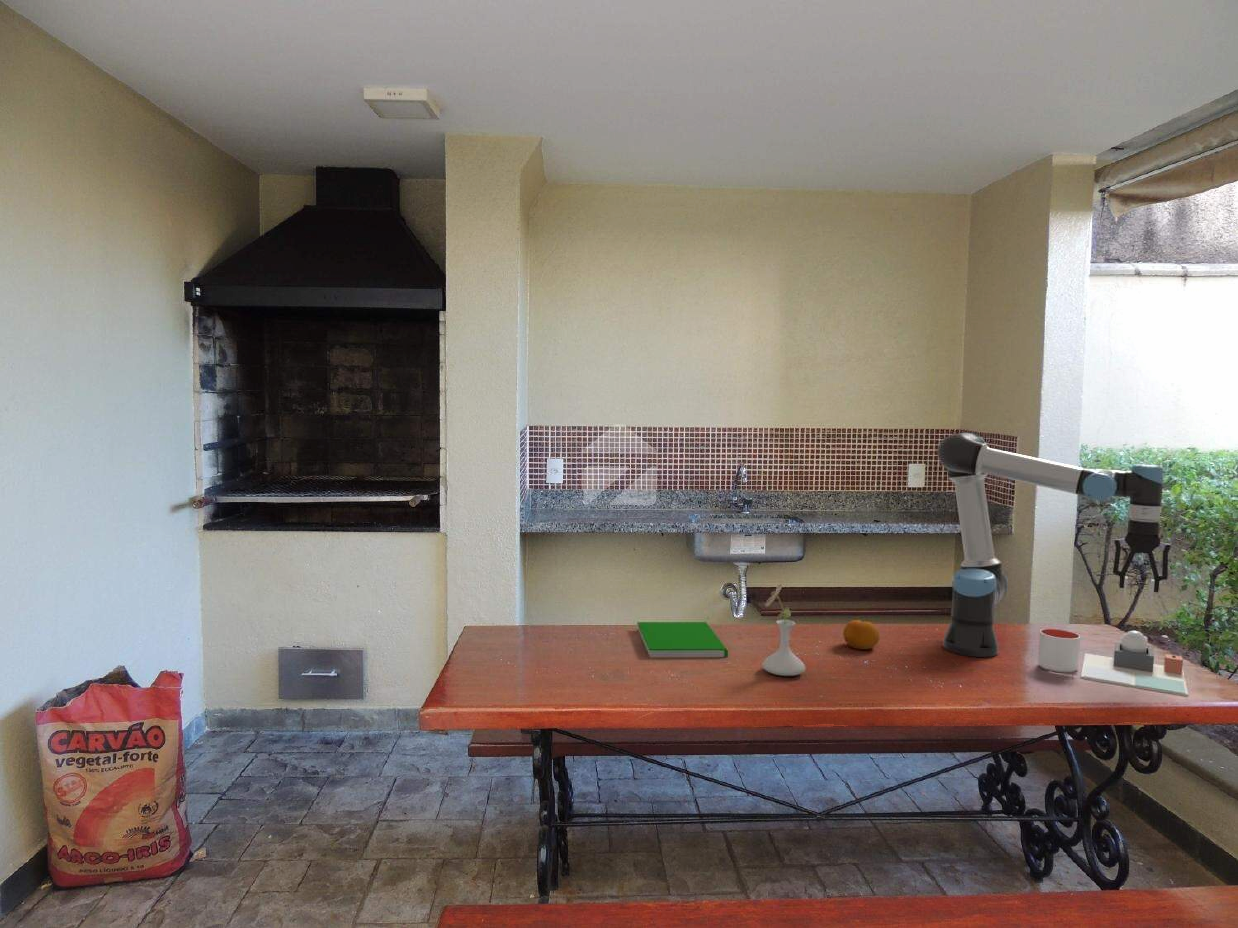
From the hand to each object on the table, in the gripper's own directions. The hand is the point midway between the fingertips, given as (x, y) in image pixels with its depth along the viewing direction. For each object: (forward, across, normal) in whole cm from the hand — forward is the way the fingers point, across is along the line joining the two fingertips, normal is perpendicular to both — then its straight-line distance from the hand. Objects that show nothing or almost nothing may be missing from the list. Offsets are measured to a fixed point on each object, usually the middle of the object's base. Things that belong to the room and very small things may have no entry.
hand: (1137, 601), depth 238 cm
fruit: (+19, -70, -28) cm, 77 cm away
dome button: (+15, 0, 0) cm, 15 cm away
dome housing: (+18, 0, 0) cm, 18 cm away
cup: (+19, -18, -15) cm, 30 cm away
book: (+20, -116, -56) cm, 130 cm away
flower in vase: (+19, -80, -64) cm, 105 cm away
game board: (+19, 0, -8) cm, 20 cm away
